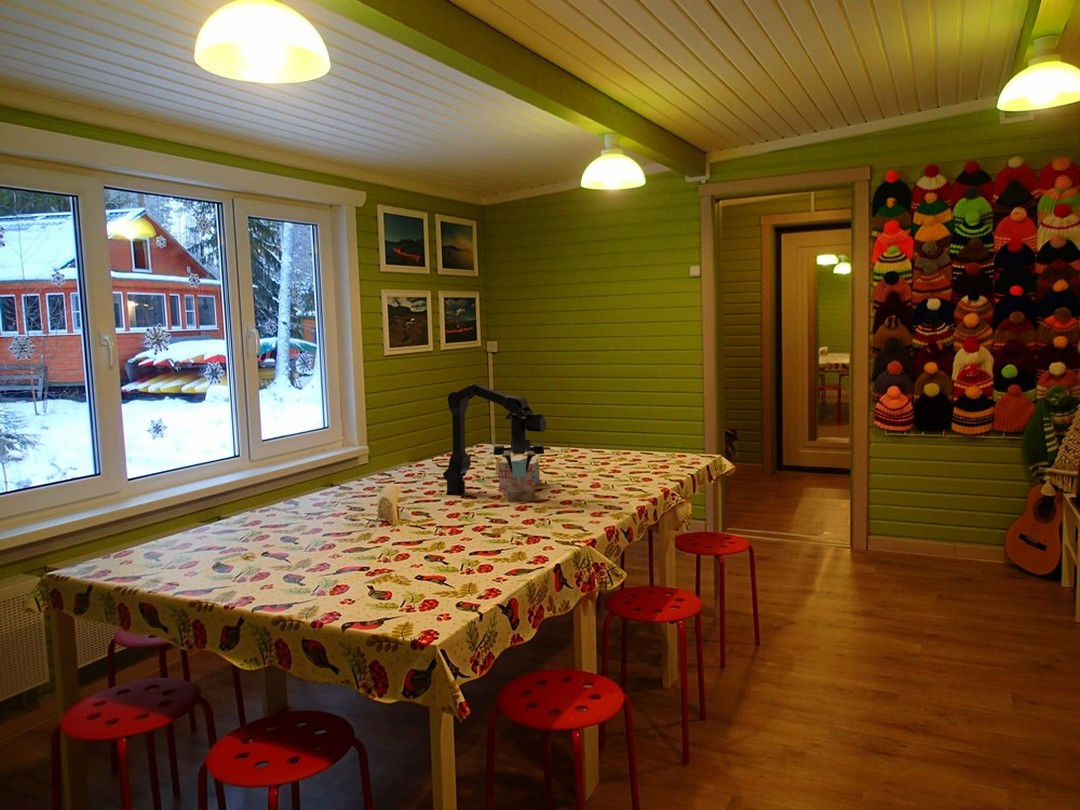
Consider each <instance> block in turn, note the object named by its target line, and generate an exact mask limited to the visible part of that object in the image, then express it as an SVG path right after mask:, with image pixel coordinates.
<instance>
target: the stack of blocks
mask: <svg viewBox="0 0 1080 810" xmlns="http://www.w3.org/2000/svg"><path fill="white" fill-rule="evenodd" d="M511 461H527V456H511ZM540 481H541V479H540V462H539V460H531V461H530V464H529V467H528V471H527V473H526V477H513V473H511V470H510V467H509V464H508V462H507V460H506V459H504V460H501V461H498V492H499V493H502V494H503V493H504V494H506V492H505V487H509V486H531V485H532V487H533V486H536V485H538V484H540Z"/></svg>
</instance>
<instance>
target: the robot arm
mask: <svg viewBox="0 0 1080 810" xmlns="http://www.w3.org/2000/svg"><path fill="white" fill-rule="evenodd" d="M476 396H477V397H479V398H482V399H485V400H487V401H489V402H492V403H495V404H497V405H499V406H501V407H503V409H504V410H505V411H508V413H507V415H506V416H505V417H504V419H505V420H510V421H509V422H510V447H507V446H506V447H505V445H504V444H503V445H502V444H501V445H498V444H497V445H494V446H493V449H492V451H493V455H494V456H502V458H505V460H507V462H508V464H509V467H510V470H511V473H513V472H512V461H511V458H512V455H511V454H513V455H520V454H521V455H525V454H526V457H527V461H526V473H527V471H528V467H529V464H530V461H532V459H533V457H536V455H544V454H545V446H544V445H543V444H542V443H541V444H539V443H538V444H532V446H531V440H530V439H527V432H530V433H544V432H545V431H546V429H547V421H546V418H545V417H544V413H534V412H533V410H532V409H531V408H530V405H529V404H528V401H527V399H526V398H525V397H523V396H519V395H510V394H506V393H504V392H500V391H497V390H495V389H492V388H489V387H488V386H484V385H482V384H480V383H478V382H477V383H471V384H470V385H468V386H467V387H464V388H461V389H460V390H457V391H453V392H450V393H449V394H448V395H447V406H448V409H449V411H450V413H451V417H452V418H451V419H452V420H451V421H452V426H451V428H452V429H451V430H452V431H451V433H452V451H451V454H450V456H449V459H448V468H447V469H446V470H445V471H444V472H443V473H442V476H443V478H444V480H446V495H451V496H452V495H453V496H454V495H464V493H465V492H466V480H465V479H464V477H465V476H466V475H467V472H468V471H469V470H470V466H472V462H471V458H472V457H471V454H467V451H466V424H465V423H466V421H465V420H466V418H465V417H466V416H465V415H466V412H467V409H468V407H469V401H470V400H471V399H473V398H474V397H476Z"/></svg>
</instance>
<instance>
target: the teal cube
mask: <svg viewBox="0 0 1080 810" xmlns="http://www.w3.org/2000/svg"><path fill="white" fill-rule="evenodd" d="M512 472H513V477H526V461H512Z"/></svg>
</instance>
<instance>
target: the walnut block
mask: <svg viewBox="0 0 1080 810" xmlns="http://www.w3.org/2000/svg"><path fill="white" fill-rule="evenodd" d="M505 492H506V493H505V498H506V500H507V503H515V502H516V503H517V502H535V501H536V490H535V489H534V487H533V486H532V485H531V486H509V487H505Z"/></svg>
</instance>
